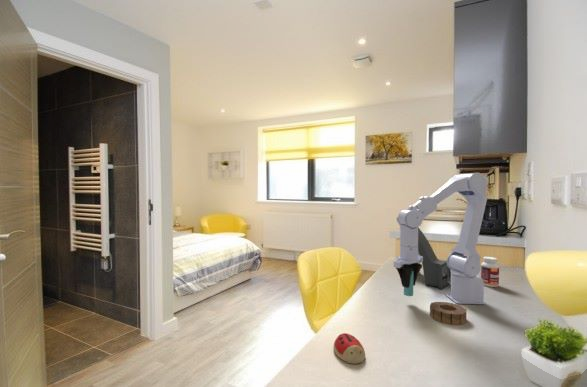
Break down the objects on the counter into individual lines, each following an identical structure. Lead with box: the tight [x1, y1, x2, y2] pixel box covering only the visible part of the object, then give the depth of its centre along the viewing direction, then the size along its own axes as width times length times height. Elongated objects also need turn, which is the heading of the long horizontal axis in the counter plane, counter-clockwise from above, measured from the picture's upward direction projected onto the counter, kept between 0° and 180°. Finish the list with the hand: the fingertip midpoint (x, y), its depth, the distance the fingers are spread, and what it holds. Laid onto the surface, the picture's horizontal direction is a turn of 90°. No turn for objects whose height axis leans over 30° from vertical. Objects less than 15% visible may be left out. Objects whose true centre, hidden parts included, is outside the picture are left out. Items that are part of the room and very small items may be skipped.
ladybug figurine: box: [333, 332, 366, 365], centre depth 71 cm, size 7×10×4 cm
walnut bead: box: [429, 301, 467, 326], centre depth 91 cm, size 10×10×3 cm
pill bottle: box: [480, 256, 500, 288], centre depth 123 cm, size 6×6×11 cm
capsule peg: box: [403, 271, 414, 297], centre depth 102 cm, size 3×3×8 cm
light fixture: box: [418, 226, 451, 290], centre depth 126 cm, size 11×17×24 cm, turn 45°
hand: (408, 285), depth 102 cm, fingers closed on capsule peg, 3 cm apart
